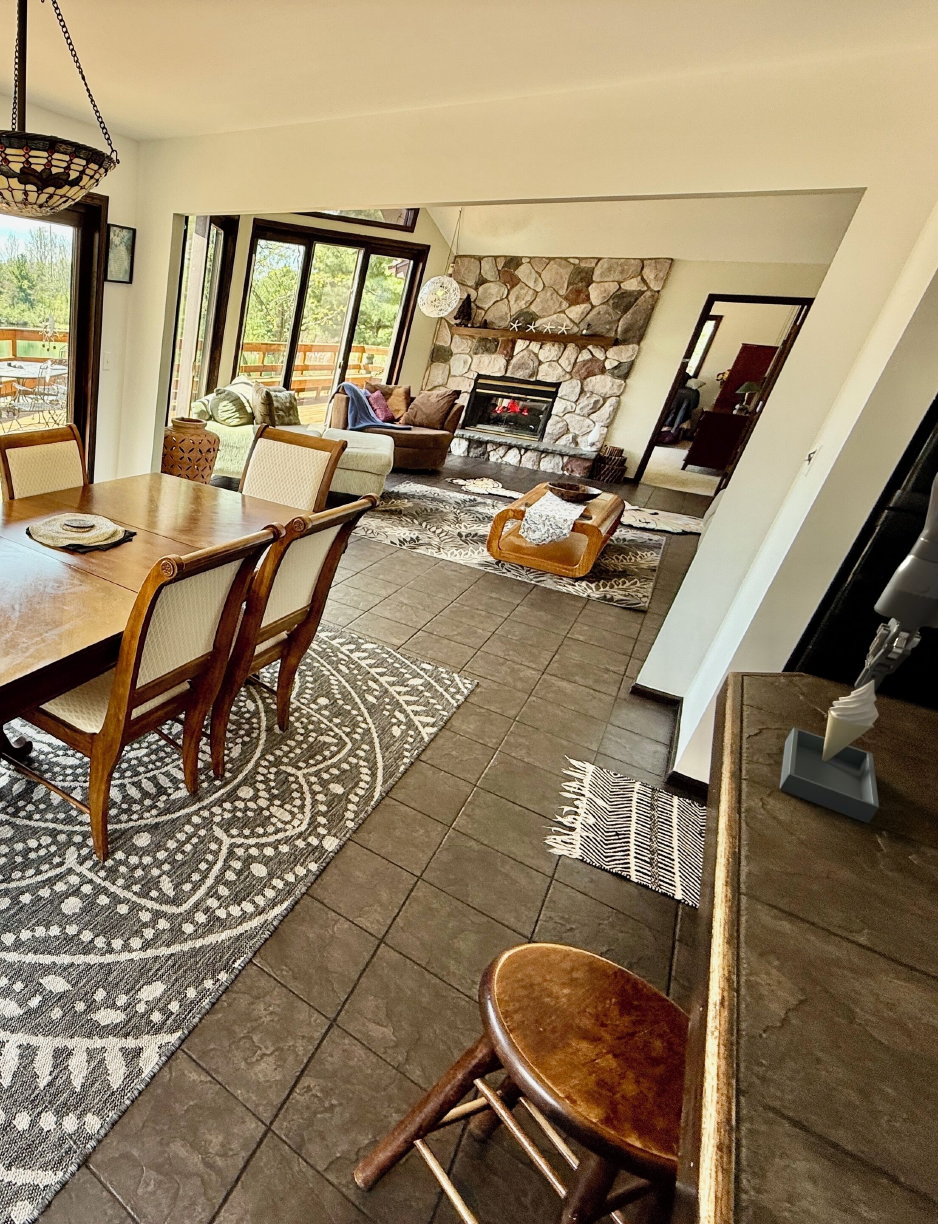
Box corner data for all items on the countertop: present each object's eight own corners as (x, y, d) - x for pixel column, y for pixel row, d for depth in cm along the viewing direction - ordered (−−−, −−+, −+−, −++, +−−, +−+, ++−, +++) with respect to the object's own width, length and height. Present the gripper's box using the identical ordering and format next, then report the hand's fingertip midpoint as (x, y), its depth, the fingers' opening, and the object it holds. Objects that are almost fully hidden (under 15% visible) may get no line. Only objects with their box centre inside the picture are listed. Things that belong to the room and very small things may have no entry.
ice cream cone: (815, 749, 105) (864, 671, 99) (854, 768, 101) (907, 687, 95) (794, 752, 104) (842, 672, 98) (832, 771, 100) (885, 689, 94)
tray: (785, 741, 108) (793, 727, 107) (862, 768, 102) (872, 753, 101) (779, 789, 95) (788, 773, 94) (868, 823, 89) (879, 807, 88)
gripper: (972, 608, 87) (900, 714, 94) (959, 589, 96) (895, 687, 103) (892, 590, 92) (829, 693, 99) (887, 574, 101) (830, 669, 108)
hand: (863, 690), depth 101 cm, fingers closed
